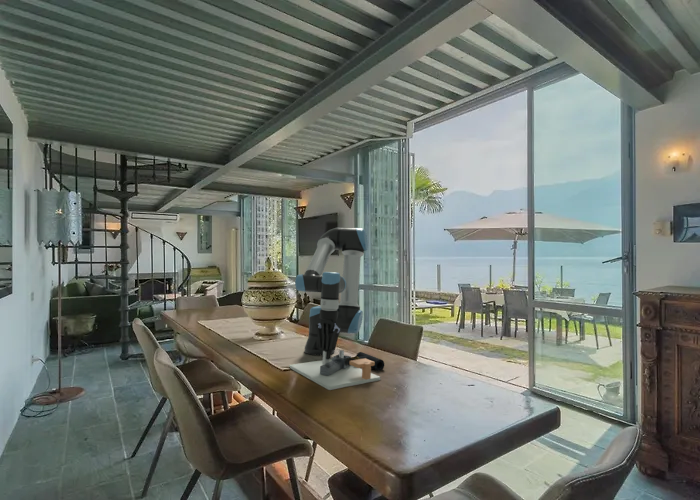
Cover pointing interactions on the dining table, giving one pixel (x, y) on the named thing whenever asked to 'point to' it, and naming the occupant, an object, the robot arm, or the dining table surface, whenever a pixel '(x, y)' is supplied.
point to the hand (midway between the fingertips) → (325, 366)
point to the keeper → (363, 366)
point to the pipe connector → (378, 362)
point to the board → (332, 375)
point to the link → (335, 365)
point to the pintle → (341, 354)
